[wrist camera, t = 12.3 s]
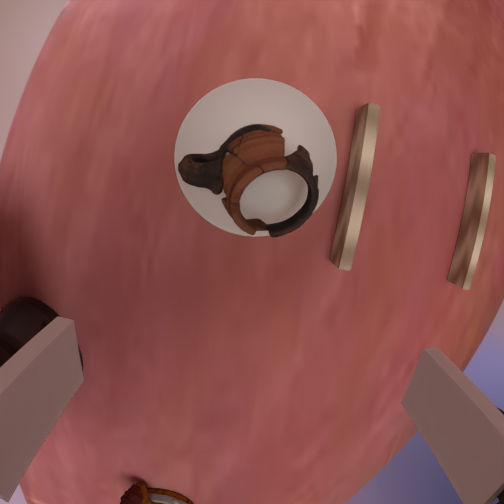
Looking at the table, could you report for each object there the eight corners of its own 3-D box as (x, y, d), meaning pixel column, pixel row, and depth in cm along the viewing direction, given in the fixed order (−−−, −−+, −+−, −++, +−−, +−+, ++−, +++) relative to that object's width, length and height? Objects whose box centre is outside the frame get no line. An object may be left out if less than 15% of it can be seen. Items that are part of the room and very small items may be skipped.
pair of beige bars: (453, 280, 32) (469, 289, 29) (329, 259, 31) (338, 268, 28) (478, 156, 29) (495, 156, 25) (356, 109, 28) (368, 102, 24)
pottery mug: (305, 120, 28) (341, 153, 22) (288, 200, 34) (313, 248, 28) (179, 113, 25) (177, 144, 19) (178, 200, 31) (178, 252, 25)
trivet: (164, 222, 30) (163, 222, 30) (191, 70, 27) (190, 69, 26) (319, 248, 31) (320, 248, 31) (346, 97, 28) (347, 97, 27)
